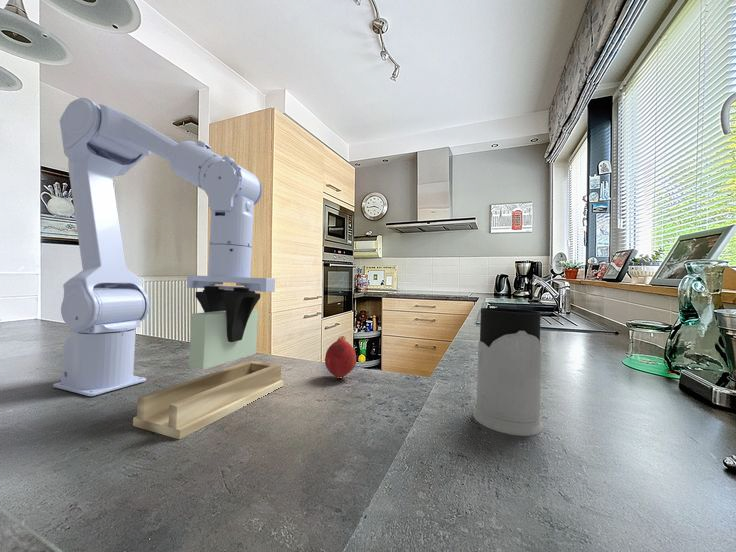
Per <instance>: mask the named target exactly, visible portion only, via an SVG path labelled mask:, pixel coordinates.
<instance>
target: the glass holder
mask: <svg viewBox="0 0 736 552" xmlns="http://www.w3.org/2000/svg"><path fill="white" fill-rule="evenodd" d="M541 314H542V313H541V311H538V310H530V309H521V308H506V307H481V308H480V322H479V323H480V327H479V329H480V330H479V341H478V343H477V344H478V345H477V347H478V348H477V349H478V351H477V352H478V353H477V377H476V378H477V379H476V380H477V381H476V383H477V385H476V405H475V408H474V409H473V412H472V417H473V418H474V420H475V421H476V422H478V423H479V424H480V425H482V426H484V427H485V428H488V429H490V430H492V431H496V432H498V433H502V434H507V435H512V436H521V437H529V436H536V435H539V434H541V433H542V432H543V430H544V425H543V423H542V421H541V417H540V409H541V376H542V375H541V373H542V371H541V370H542V369H541V368H542V343H541V316H542V315H541Z"/></svg>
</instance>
